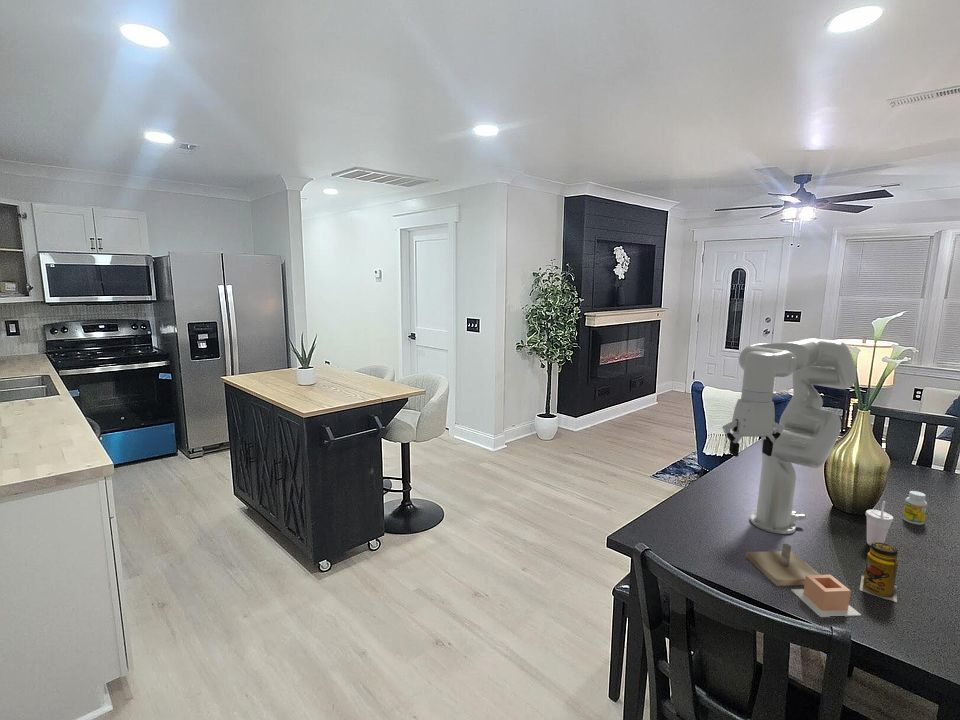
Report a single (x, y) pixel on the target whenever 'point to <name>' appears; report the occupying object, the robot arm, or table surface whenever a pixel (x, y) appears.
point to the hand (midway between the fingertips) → (750, 454)
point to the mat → (821, 613)
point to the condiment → (881, 571)
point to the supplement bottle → (915, 508)
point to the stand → (782, 566)
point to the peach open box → (827, 592)
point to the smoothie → (877, 525)
